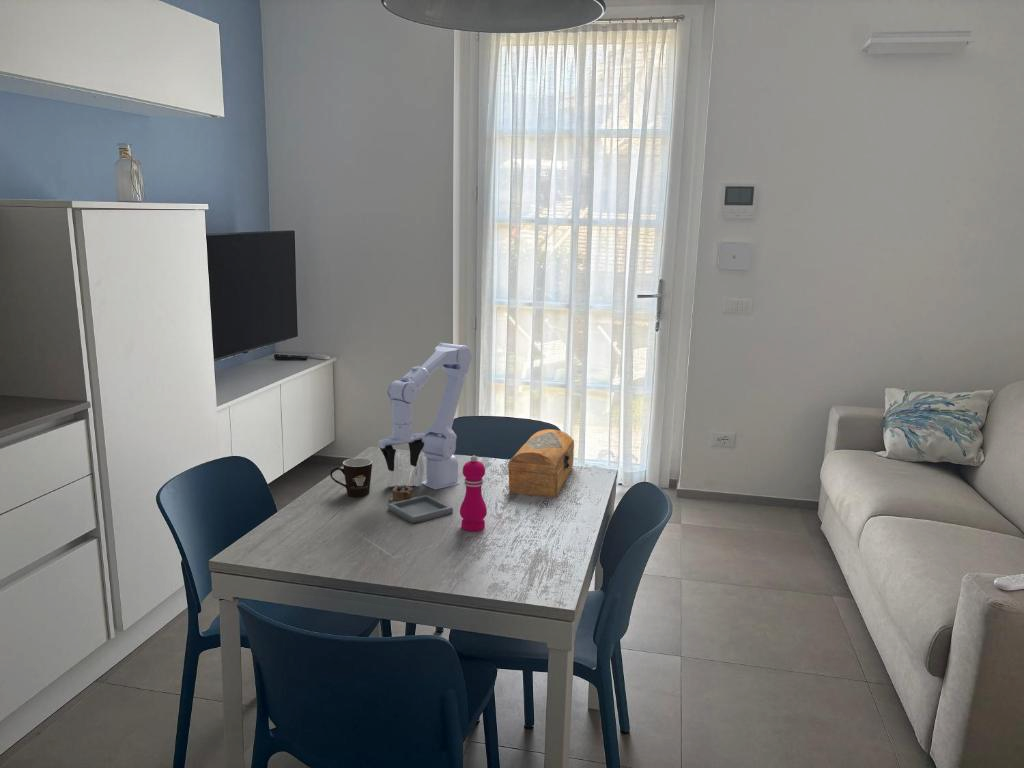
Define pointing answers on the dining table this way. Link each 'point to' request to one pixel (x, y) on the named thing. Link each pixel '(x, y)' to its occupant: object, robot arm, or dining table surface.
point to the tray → (420, 509)
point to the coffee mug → (356, 476)
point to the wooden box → (542, 464)
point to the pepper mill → (473, 497)
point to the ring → (402, 494)
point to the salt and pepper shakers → (396, 475)
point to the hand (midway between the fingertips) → (402, 467)
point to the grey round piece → (402, 488)
